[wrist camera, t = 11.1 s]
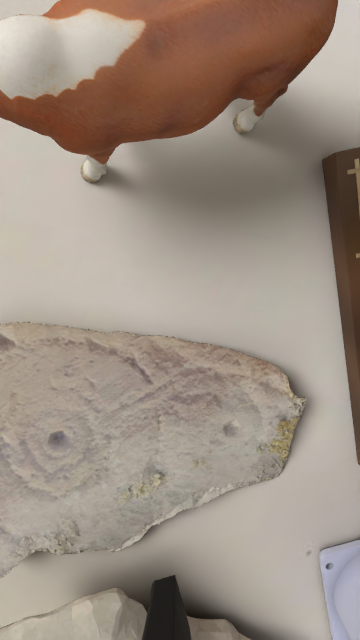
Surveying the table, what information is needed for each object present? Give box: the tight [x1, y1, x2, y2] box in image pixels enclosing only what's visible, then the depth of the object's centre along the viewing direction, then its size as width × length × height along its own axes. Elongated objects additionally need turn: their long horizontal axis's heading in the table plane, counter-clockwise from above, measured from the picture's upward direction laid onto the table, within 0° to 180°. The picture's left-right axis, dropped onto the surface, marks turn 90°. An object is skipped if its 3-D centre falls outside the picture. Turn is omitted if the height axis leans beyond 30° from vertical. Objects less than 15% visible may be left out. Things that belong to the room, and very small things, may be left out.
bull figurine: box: [0, 0, 338, 183], centre depth 11 cm, size 4×13×8 cm, turn 103°
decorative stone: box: [0, 322, 306, 578], centre depth 18 cm, size 20×14×1 cm
